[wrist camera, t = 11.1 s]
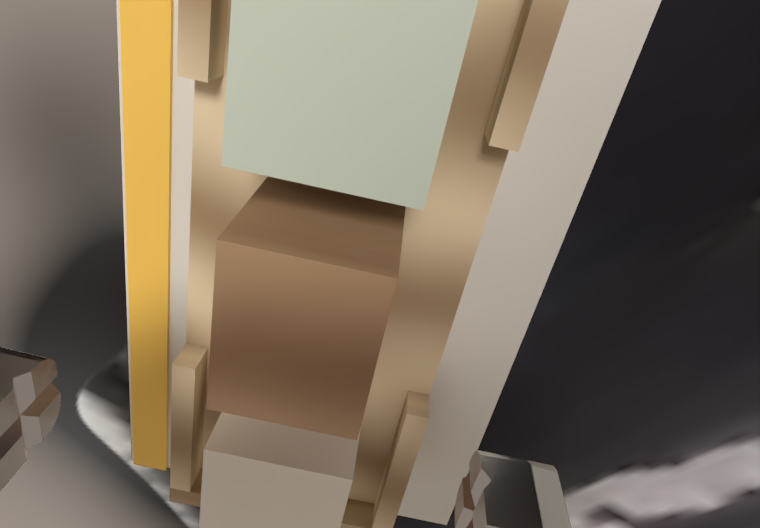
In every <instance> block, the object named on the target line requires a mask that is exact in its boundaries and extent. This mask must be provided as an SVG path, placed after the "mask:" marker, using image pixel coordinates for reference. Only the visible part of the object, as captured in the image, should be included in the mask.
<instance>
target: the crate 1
mask: <svg viewBox="0 0 760 528" xmlns="http://www.w3.org/2000/svg"><path fill="white" fill-rule="evenodd" d="M477 4H478V0H231V16H230V32H229V49H228V65H227V82H226V98H225V115H224V131H223V148H222V164H221V166H224V167H228V168H233V169H238V170H242V171H247V172H251V173H256V174H260V175H265V176H269V177H274V178H278V179H283V180H287V181H292V182H296V183H301V184H306V185H310V186H315V187H319V188H324V189H328V190H333V191H337V192H342V193H346V194H351V195H355V196H360V197H365V198H369V199H374V200H378V201H383V202H387V203H392V204H396V205H401V206H405V207H410V208H414V209H419V210H424V207H425V203H426V199H427V195H428V192H429V188H430V184H431V180H432V176H433V172H434V169H435V165H436V161H437V157H438V153H439V149H440V146H441V142H442V138H443V134H444V130H445V126H446V123H447V119H448V115H449V111H450V107H451V103H452V100H453V96H454V92H455V88H456V84H457V81H458V77H459V73H460V69H461V65H462V61H463V58H464V54H465V50H466V46H467V42H468V38H469V35H470V31H471V27H472V23H473V19H474V15H475V12H476V8H477Z"/></svg>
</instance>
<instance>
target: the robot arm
mask: <svg viewBox="0 0 760 528" xmlns="http://www.w3.org/2000/svg"><path fill="white" fill-rule="evenodd" d="M56 376H57V369H56V364H55V361H53V360H51V359H48V358H44V357H40V356H36V355H32V354H28V353H23V352H19V351H15V350H11V349H6V348H3V347H0V491H1V490H2V489H3V488H4V486H5V485H6V484H7V483H8V482H9V481H10V479H11V478H12V477H13V476H14V475H15V473H16V472H17V471H18V470H19V469H20V467H21V466H22V465H23V464H24V463H25V461H26V449H27V448H29V447H31V446H33V445H35V444H37V443H39V442H42V441H43V440H44V438H45V437H46V436H47V435H48V433H49V432H50V430H51V429H52V428H53V426H54V424H55V421H56V419H57V417H58V415H59V411H60V404H61V398H60V392H59V391H58V390H57V388H56V387H55V386H54V385H53V384H52V383H51V381H52V380H53V379H54V378H55V377H56ZM469 470H470V474H469V475H468V476H466V477H464V478H463V479H462V481H461V484H460V487H459V489H458V494H457V499H456V504H455V528H571V524H570V520H569V516H568V512H567V508H566V504H565V500H564V496H563V492H562V488H561V484H560V480H559V476H558V472H557V470H556V469H555V467H554V466H552V465H548V464H543V463H538V462H533V461H526V460H524V459H519V458H514V457H509V456H504V455H499V454H494V453H489V452H485V451H480V450H476V451H475V452H474V453H473V455H472V457H471V460H470V462H469Z"/></svg>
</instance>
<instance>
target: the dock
mask: <svg viewBox="0 0 760 528" xmlns="http://www.w3.org/2000/svg"><path fill="white" fill-rule="evenodd" d="M116 1H117V2H116V3H117V31H118V32H117V33H118V60H119V61H118V63H119V93H120V122H121V153H122V183H123V211H124V243H125V273H126V303H127V332H128V363H129V393H130V424H131V454H132V460H134V464H136V465H141V466H145V467H150V468H155V469H160V470H165V471H166V469H167V468H170V459H171V400H172V364H173V362H174V361H175V359H176V358H177V356H178V355H179V353H180V352H181V350H182V349H183V347H184V346H185V344H186V332H187V302H188V271H189V240H190V209H191V178H192V147H193V116H194V86H195V80H193V79H189V78H184V77H180V76H177V48H178V0H116ZM660 3H661V0H569V3H568V6H567V9H566V12H565V15H564V18H563V21H562V24H561V27H560V30H559V33H558V36H557V39H556V42H555V45H554V48H553V51H552V54H551V57H550V60H549V63H548V66H547V69H546V72H545V75H544V78H543V81H542V84H541V87H540V90H539V93H538V96H537V99H536V102H535V104H534V107H533V110H532V113H531V116H530V119H529V122H528V125H527V128H526V131H525V134H524V137H523V140H522V143H521V146H520V149H519V152H515V151H511V150H509V152H508V155H507V158H506V161H505V164H504V167H503V170H502V173H501V176H500V179H499V182H498V186H497V189H496V192H495V195H494V198H493V201H492V204H491V207H490V210H489V213H488V216H487V219H486V222H485V226H484V229H483V232H482V235H481V238H480V241H479V244H478V247H477V250H476V253H475V256H474V259H473V263H472V266H471V269H470V272H469V275H468V278H467V281H466V284H465V287H464V290H463V293H462V296H461V299H460V303H459V306H458V309H457V312H456V315H455V318H454V321H453V324H452V327H451V330H450V333H449V336H448V339H447V343H446V346H445V349H444V352H443V355H442V358H441V361H440V364H439V367H438V370H437V373H436V376H435V379H434V383H433V386H432V389H431V392H430V419H429V422H428V425H427V428H426V430H425V433H424V436H423V439H422V442H421V445H420V448H419V451H418V454H417V457H416V460H415V463H414V466H413V469H412V472H411V475H410V478H409V481H408V484H407V487H406V490H405V493H404V496H403V499H402V502H401V505H400V508H399V511H398V514H397V515H400V516H405V517H410V518H414V519H419V520H424V521H429V522H434V523H439V524H443V525H447V523H448V521H449V518H450V516H451V514H452V511H453V509H454V506H455V504H456V499H457V494H458V489H459V487H460V484H461V481H462V479H463V478H464V477H466V476H467V474H468V472H469V462H470V460H471V457H472V455H473V453H474V452H475V451H476V450H478V448H479V445H480V443H481V440H482V438H483V435H484V433H485V430H486V428H487V426H488V423H489V421H490V418H491V416H492V413H493V411H494V408H495V406H496V404H497V401H498V399H499V396H500V394H501V391H502V389H503V386H504V384H505V382H506V379H507V377H508V374H509V372H510V369H511V367H512V364H513V362H514V360H515V357H516V355H517V352H518V350H519V347H520V345H521V342H522V340H523V338H524V335H525V333H526V330H527V328H528V325H529V323H530V320H531V318H532V316H533V313H534V311H535V308H536V306H537V303H538V301H539V298H540V296H541V294H542V291H543V289H544V286H545V284H546V281H547V279H548V276H549V274H550V272H551V269H552V267H553V264H554V262H555V259H556V257H557V254H558V252H559V250H560V247H561V245H562V242H563V240H564V237H565V235H566V232H567V230H568V228H569V225H570V223H571V220H572V218H573V215H574V213H575V210H576V208H577V206H578V203H579V201H580V198H581V196H582V193H583V191H584V188H585V186H586V184H587V181H588V179H589V176H590V174H591V171H592V169H593V166H594V164H595V162H596V159H597V157H598V154H599V152H600V149H601V147H602V144H603V142H604V140H605V137H606V135H607V132H608V130H609V127H610V125H611V122H612V120H613V118H614V115H615V113H616V110H617V108H618V105H619V103H620V100H621V98H622V96H623V93H624V91H625V88H626V86H627V83H628V81H629V78H630V76H631V74H632V71H633V69H634V66H635V64H636V61H637V59H638V56H639V54H640V52H641V49H642V47H643V44H644V42H645V39H646V37H647V34H648V32H649V30H650V27H651V25H652V22H653V20H654V17H655V15H656V12H657V10H658V8H659V5H660Z"/></svg>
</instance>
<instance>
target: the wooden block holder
mask: <svg viewBox="0 0 760 528" xmlns="http://www.w3.org/2000/svg"><path fill="white" fill-rule="evenodd" d="M568 3H569V0H478V4H477V8H476V12H475V15H474V19H473V23H472V27H471V31H470V35H469V38H468V42H467V46H466V50H465V54H464V58H463V61H462V65H461V69H460V73H459V77H458V81H457V84H456V88H455V92H454V96H453V100H452V103H451V107H450V111H449V115H448V119H447V123H446V126H445V130H444V134H443V138H442V142H441V146H440V149H439V153H438V157H437V161H436V165H435V169H434V172H433V176H432V180H431V184H430V188H429V192H428V195H427V199H426V203H425V207H424V210H419V209H414V208H410V207H405V206H401V205H396V204H392V203H387V202H383V201H378V200H374V199H369V198H365V197H360V196H355V195H351V194H346V193H342V192H337V191H333V190H328V189H324V188H319V187H315V186H310V185H306V184H301V183H296V182H292V181H287V180H283V179H278V178H274V177H269V176H265V175H260V174H256V173H251V172H247V171H242V170H238V169H233V168H228V167H224V166H221V164H222V148H223V131H224V115H225V98H226V82H227V65H228V49H229V32H230V16H231V0H178V48H177V76H180V77H184V78H189V79H193V80H195V86H194V116H193V147H192V178H191V209H190V240H189V271H188V302H187V332H186V344H185V346H184V347H183V349H182V350H181V352H180V353H179V355H178V356H177V358H176V359H175V361H174V362H173V364H172V400H171V459H170V501H173V502H177V503H182V504H187V505H192V506H197V507H200V503H201V487H202V471H203V454H204V448H205V446H206V444H207V441H208V439H209V437H210V435H211V433H212V431H213V429H214V427H215V425H216V423H217V421H218V419H219V416H220V414H221V412H224V413H229V414H234V415H238V416H243V417H248V418H253V419H257V420H262V421H267V422H272V423H276V424H281V425H286V426H291V427H296V428H300V429H305V430H310V431H315V432H319V433H324V434H329V435H334V436H338V437H343V438H348V439H353V440H357V439H358V435H359V431H360V436H359V443H358V449H357V456H356V462H355V469H354V475H353V481H352V485H351V489H350V492H349V496H348V500H347V504H346V508H345V512H344V515H343V519H342V523H341V527H340V528H393V526H394V523H395V520H396V517H397V514H398V511H399V508H400V505H401V502H402V499H403V496H404V493H405V490H406V487H407V484H408V481H409V478H410V475H411V472H412V469H413V466H414V463H415V460H416V457H417V454H418V451H419V448H420V445H421V442H422V439H423V436H424V433H425V430H426V428H427V425H428V422H429V419H430V392H431V389H432V386H433V383H434V379H435V376H436V373H437V370H438V367H439V364H440V361H441V358H442V355H443V352H444V349H445V346H446V343H447V339H448V336H449V333H450V330H451V327H452V324H453V321H454V318H455V315H456V312H457V309H458V306H459V303H460V299H461V296H462V293H463V290H464V287H465V284H466V281H467V278H468V275H469V272H470V269H471V266H472V263H473V259H474V256H475V253H476V250H477V247H478V244H479V241H480V238H481V235H482V232H483V229H484V226H485V222H486V219H487V216H488V213H489V210H490V207H491V204H492V201H493V198H494V195H495V192H496V189H497V186H498V182H499V179H500V176H501V173H502V170H503V167H504V164H505V161H506V158H507V155H508V152H509V150H511V151H515V152H519V149H520V146H521V143H522V140H523V137H524V134H525V131H526V128H527V125H528V122H529V119H530V116H531V113H532V110H533V107H534V104H535V102H536V99H537V96H538V93H539V90H540V87H541V84H542V81H543V78H544V75H545V72H546V69H547V66H548V63H549V60H550V57H551V54H552V51H553V48H554V45H555V42H556V39H557V36H558V33H559V30H560V27H561V24H562V21H563V18H564V15H565V12H566V9H567V6H568ZM360 427H361V430H360Z"/></svg>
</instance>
